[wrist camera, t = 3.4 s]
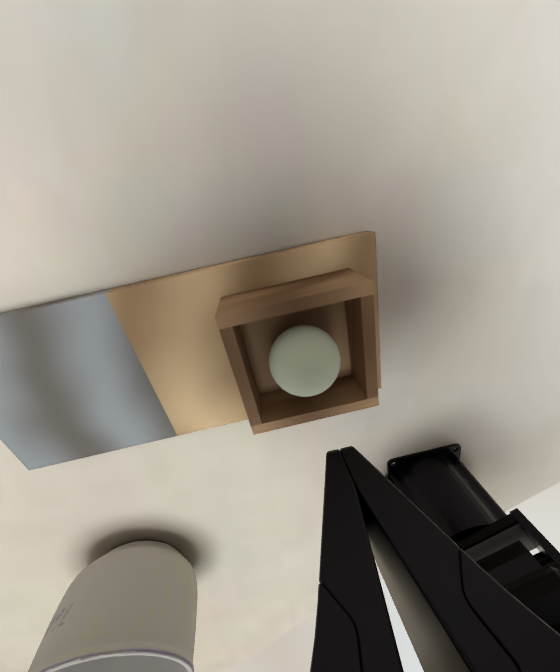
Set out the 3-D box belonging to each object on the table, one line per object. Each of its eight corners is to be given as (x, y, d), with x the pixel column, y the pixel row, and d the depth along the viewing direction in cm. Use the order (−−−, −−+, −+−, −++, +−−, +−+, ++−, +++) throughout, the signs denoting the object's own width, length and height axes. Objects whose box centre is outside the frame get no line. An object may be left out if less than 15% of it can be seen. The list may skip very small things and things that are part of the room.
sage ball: (325, 308, 14) (348, 336, 11) (332, 363, 16) (354, 402, 13) (260, 322, 14) (263, 355, 11) (273, 377, 16) (280, 419, 13)
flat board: (367, 231, 14) (375, 232, 13) (374, 379, 19) (381, 387, 18) (-72, 329, 14) (-94, 337, 13) (39, 457, 18) (29, 470, 17)
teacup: (73, 525, 22) (-14, 680, 15) (208, 521, 23) (191, 658, 16) (97, 608, 27) (43, 749, 20) (205, 600, 29) (191, 727, 22)
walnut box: (349, 267, 14) (373, 281, 11) (357, 374, 17) (378, 405, 14) (220, 296, 14) (214, 317, 11) (252, 399, 17) (253, 434, 14)
